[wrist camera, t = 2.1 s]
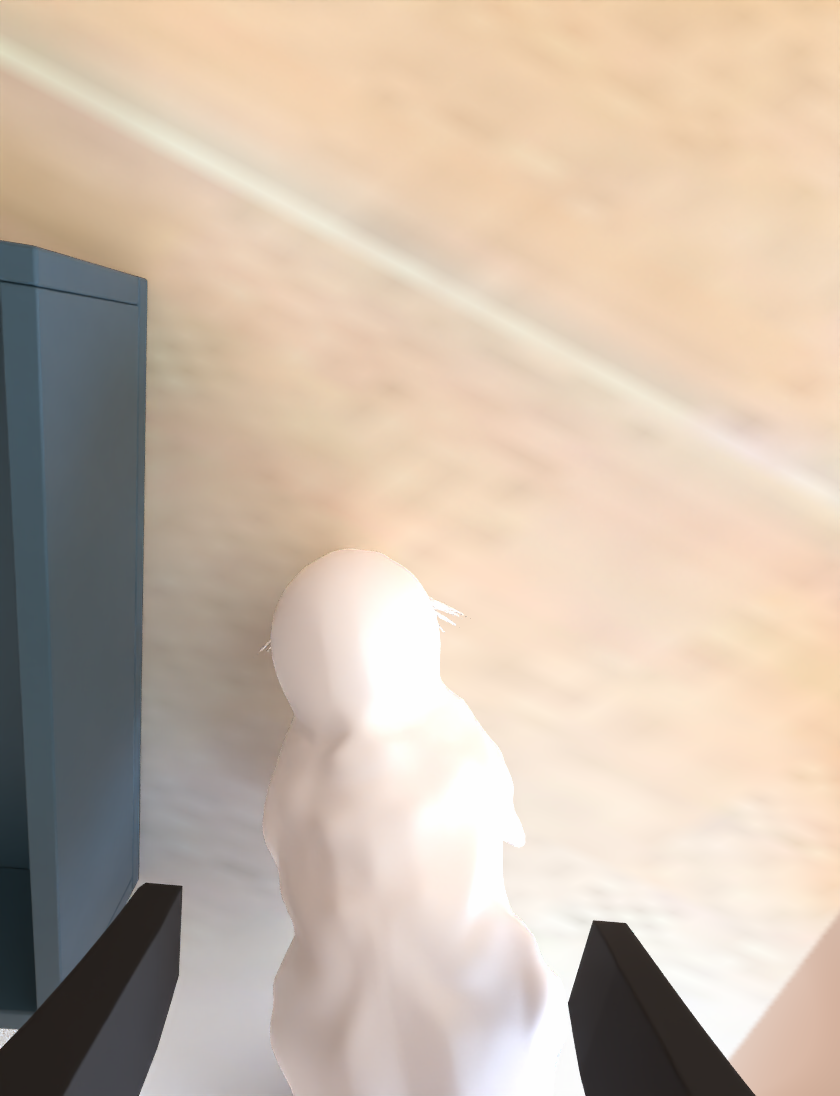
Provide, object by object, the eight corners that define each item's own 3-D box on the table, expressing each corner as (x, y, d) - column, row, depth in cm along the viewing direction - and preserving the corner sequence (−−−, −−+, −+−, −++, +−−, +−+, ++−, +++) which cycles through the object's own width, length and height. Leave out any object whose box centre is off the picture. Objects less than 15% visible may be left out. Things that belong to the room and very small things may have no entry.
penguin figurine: (269, 1304, 11) (64, 682, 8) (329, 916, 19) (236, 548, 17) (624, 1248, 11) (527, 599, 8) (529, 882, 19) (466, 506, 16)
